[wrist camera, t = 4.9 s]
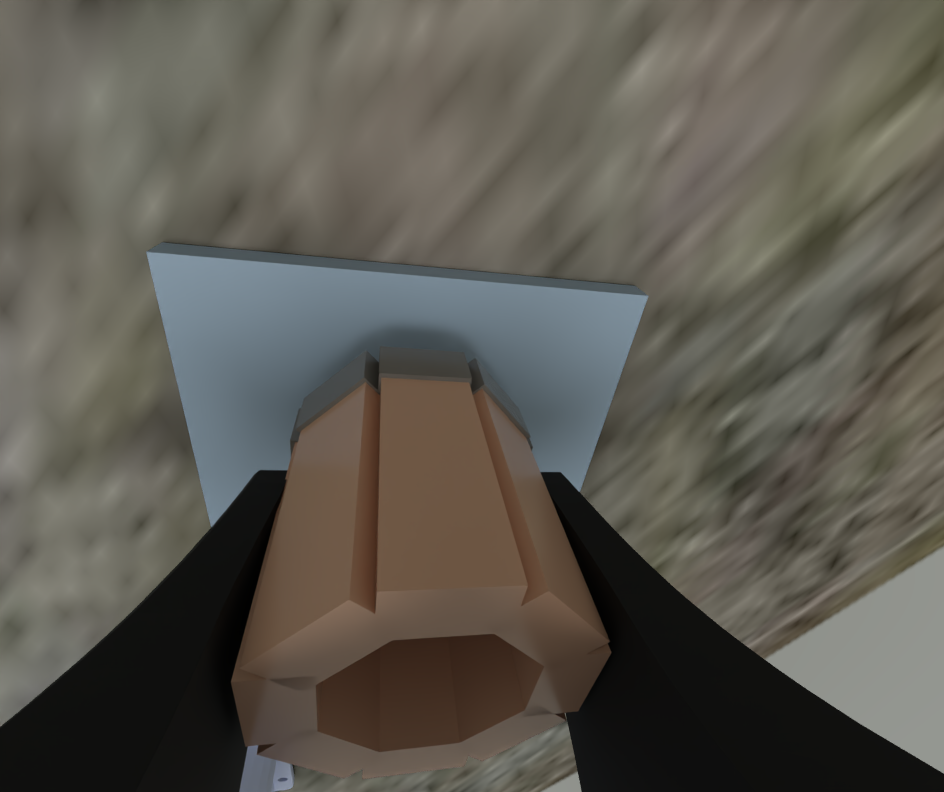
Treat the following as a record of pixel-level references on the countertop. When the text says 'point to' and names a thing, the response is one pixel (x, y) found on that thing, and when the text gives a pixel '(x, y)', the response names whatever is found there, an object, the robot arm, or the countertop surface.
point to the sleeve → (413, 580)
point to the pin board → (376, 347)
